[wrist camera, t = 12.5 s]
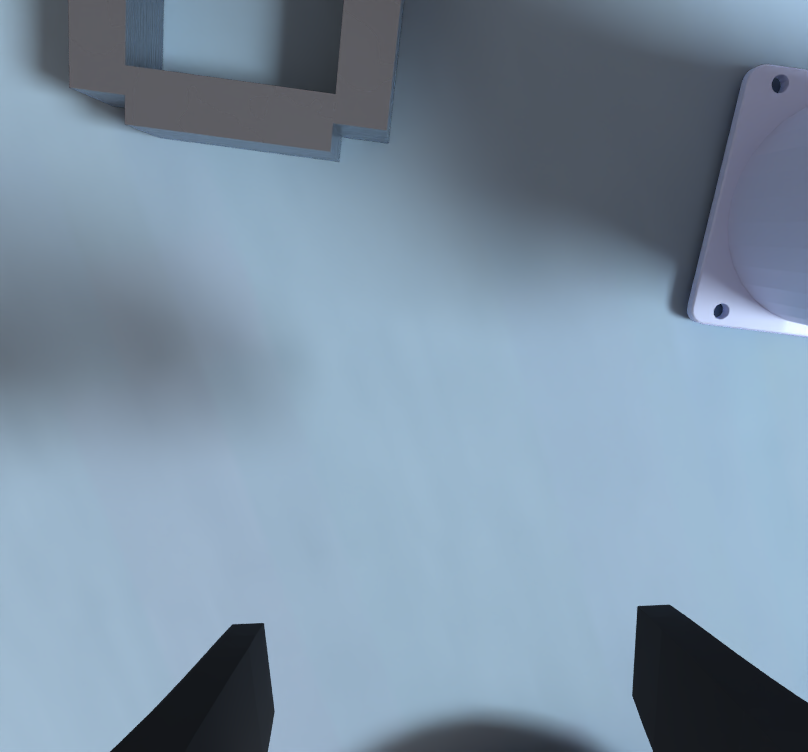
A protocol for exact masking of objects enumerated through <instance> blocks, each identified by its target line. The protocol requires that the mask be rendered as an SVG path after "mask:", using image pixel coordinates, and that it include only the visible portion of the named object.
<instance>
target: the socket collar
mask: <svg viewBox="0 0 808 752" xmlns="http://www.w3.org/2000/svg"><path fill="white" fill-rule="evenodd" d="M403 7H404V0H344V5H343V16H342V27H341V38H340V50H339V61H338V72H337V83H336V94H331V93H324V92H317V91H310V90H302V89H295V88H288V87H280V86H273V85H266V84H259V83H251V82H244V81H237V80H229V79H222V78H215V77H208V76H200V75H193V74H186V73H178V72H171V71H164V70H162V53H163V8H164V0H68V18H69V88H72V89H74V90H76V91H79V92H81V93H83V94H86V95H88V96H90V97H93V98H95V99H97V100H100V101H102V102H104V103H107V104H109V105H111V106H115V107H122V108H125V125H128V126H130V127H133V128H136V129H138V130H141V131H144V132H146V133H149V134H151V135H154V136H157V137H159V138H164V139H172V140H180V141H187V142H195V143H202V144H210V145H217V146H225V147H232V148H240V149H247V150H255V151H262V152H270V153H277V154H285V155H292V156H300V157H307V158H315V159H322V160H330V161H337V162H339V159H340V149H341V138H342V137H345V138H353V139H360V140H368V141H375V142H382V143H388V142H389V133H390V124H391V115H392V106H393V97H394V88H395V79H396V70H397V61H398V52H399V43H400V34H401V25H402V16H403Z"/></svg>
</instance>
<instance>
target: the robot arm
mask: <svg viewBox="0 0 808 752" xmlns="http://www.w3.org/2000/svg"><path fill="white" fill-rule="evenodd" d="M774 78H777V79H779V81H780V83H781V88H780V90H779V92H778V93H776V92H774V91H773V89H772V81H773V79H774ZM719 304H722V306H723V312H722V314H721V315H720V316H718V317H715V316H714V309H715V307H716V306H717V305H719ZM687 313H688V316H689V318H690V319H691V320H692V321H694V322H697V323H700V324H705V325H713V326H721V327H729V328H737V329H745V330H753V331H761V332H769V333H777V334H785V335H793V336H801V337H808V70H806V69H799V68H792V67H785V66H778V65H771V64H763V65H759V66H757V67H755V68H753V69H751V70H749V71H748V73H747V74H746V75H745V76H744V78H743V81H742V84H741V88H740V92H739V96H738V100H737V104H736V108H735V113H734V117H733V121H732V125H731V129H730V133H729V137H728V141H727V145H726V150H725V154H724V158H723V162H722V166H721V170H720V174H719V178H718V182H717V186H716V191H715V195H714V199H713V203H712V207H711V211H710V215H709V219H708V223H707V228H706V232H705V236H704V240H703V244H702V248H701V252H700V256H699V260H698V265H697V269H696V273H695V277H694V281H693V285H692V289H691V293H690V297H689V301H688V306H687ZM632 696H633V699H634V702H635V704H636V707H637V710H638V713H639V716H640V718H641V721H642V724H643V727H644V729H645V732H646V734H647V737H648V739H649V742H650V745H651V747H652V750H653V752H808V703H807V702H806V701H804V700H803V699H801V698H800V697H798V696H797V695H795V694H794V693H792V692H791V691H789V690H788V689H786V688H785V687H783V686H782V685H781V684H779V683H778V682H776V681H775V680H773V679H772V678H770V677H769V676H768V675H766V674H765V673H763V672H762V671H760V670H759V669H758V668H756V667H755V666H753V665H752V664H751V663H749V662H748V661H746V660H745V659H744V658H742V657H741V656H740V655H738V654H737V653H735V652H734V651H733V650H731V649H730V648H729V647H727V646H726V645H724V644H723V643H722V642H720V641H719V640H718V639H716V638H715V637H714V636H712V635H711V634H710V633H708V632H707V631H706V630H704V629H703V628H701V627H700V626H699V625H697V624H696V623H695V622H693V621H692V620H691V619H689V618H688V617H686V616H685V615H684V614H682V613H681V612H679V611H678V610H676V609H675V608H674V607H672V606H671V605H653V606H638V607H637V624H636V641H635V658H634V675H633V692H632ZM273 718H274V703H273V695H272V687H271V678H270V670H269V662H268V654H267V645H266V637H265V629H264V623H255V624H233V625H232V626H231V627H230V628H229V629H228V630H227V631H226V632H225V633H224V634H223V635H222V636H221V637H220V638H219V639H218V640H217V642H216V643H215V644H214V645H213V646H212V647H211V648H210V649H209V650H208V651H207V653H206V654H205V655H204V656H203V657H202V658H201V659H200V660H199V661H198V663H197V664H196V665H195V666H194V667H193V668H192V669H191V670H190V671H189V672H188V674H187V675H186V676H185V677H184V678H183V679H182V680H181V681H180V682H179V683H178V684H177V685H176V686H175V687H174V688H173V690H172V691H171V692H170V693H169V694H168V695H167V696H166V697H165V698H164V699H163V700H162V701H161V702H160V703H159V704H158V705H157V706H156V707H155V708H154V710H153V711H152V712H151V713H150V714H149V715H148V716H147V717H145V718H144V719H143V720H142V721H141V722H140V723H139V724H138V725H137V726H136V727H135V728H134V729H133V730H132V731H131V732H130V733H129V734H128V735H127V736H126V737H125V738H124V739H123V740H122V741H121V742H120V743H119V744H118V745H117V746H116V747H115V748H113V749H112V750H111V751H110V752H268V747H269V741H270V736H271V730H272V724H273Z"/></svg>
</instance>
